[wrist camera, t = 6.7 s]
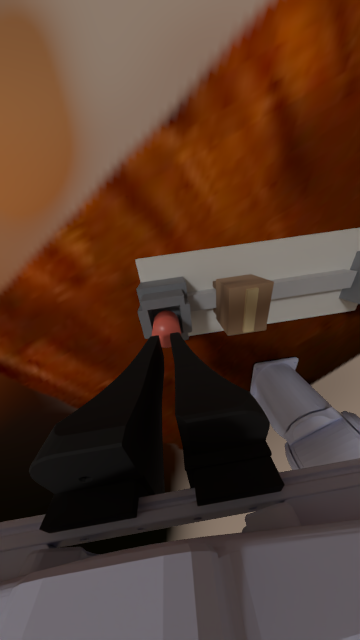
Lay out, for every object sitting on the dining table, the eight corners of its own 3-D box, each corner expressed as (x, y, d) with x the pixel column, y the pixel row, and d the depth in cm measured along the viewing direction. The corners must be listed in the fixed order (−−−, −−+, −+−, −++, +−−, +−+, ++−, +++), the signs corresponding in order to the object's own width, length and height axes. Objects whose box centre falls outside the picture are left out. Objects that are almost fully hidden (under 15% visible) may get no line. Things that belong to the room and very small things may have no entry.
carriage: (242, 310, 20) (267, 331, 15) (213, 314, 20) (228, 337, 15) (245, 272, 18) (276, 282, 13) (212, 276, 17) (230, 289, 13)
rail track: (347, 307, 23) (405, 327, 17) (155, 337, 22) (152, 367, 17) (384, 224, 18) (483, 214, 12) (136, 258, 17) (123, 265, 12)
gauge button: (180, 330, 15) (182, 345, 13) (156, 334, 15) (154, 349, 12) (177, 308, 14) (179, 320, 11) (151, 312, 14) (148, 325, 11)
